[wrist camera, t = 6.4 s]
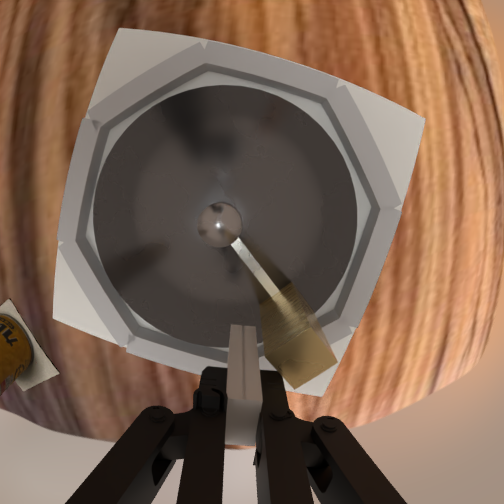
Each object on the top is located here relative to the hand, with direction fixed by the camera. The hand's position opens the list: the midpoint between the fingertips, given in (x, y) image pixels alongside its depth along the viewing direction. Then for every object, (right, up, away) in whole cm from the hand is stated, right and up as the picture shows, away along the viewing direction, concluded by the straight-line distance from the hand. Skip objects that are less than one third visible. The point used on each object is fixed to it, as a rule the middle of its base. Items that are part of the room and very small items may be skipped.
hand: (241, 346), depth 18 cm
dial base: (-1, +8, +4) cm, 9 cm away
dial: (-1, +7, +2) cm, 8 cm away
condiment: (-23, -4, +6) cm, 24 cm away
